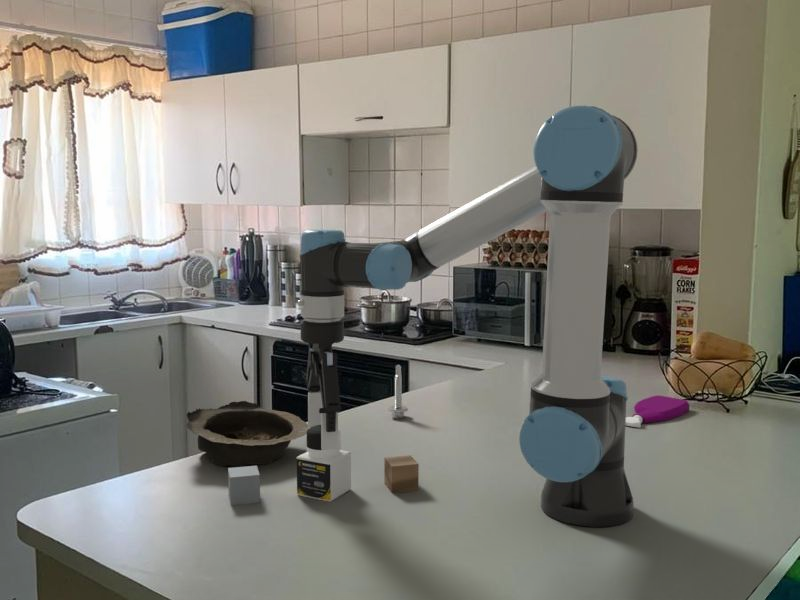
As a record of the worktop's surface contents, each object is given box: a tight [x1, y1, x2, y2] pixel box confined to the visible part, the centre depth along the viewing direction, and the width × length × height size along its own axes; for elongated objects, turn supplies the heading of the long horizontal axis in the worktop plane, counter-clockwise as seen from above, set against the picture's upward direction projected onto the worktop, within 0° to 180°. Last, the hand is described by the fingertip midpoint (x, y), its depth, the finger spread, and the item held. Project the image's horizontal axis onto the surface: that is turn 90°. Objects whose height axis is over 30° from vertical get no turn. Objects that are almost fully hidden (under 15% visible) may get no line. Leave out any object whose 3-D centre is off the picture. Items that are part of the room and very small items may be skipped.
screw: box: [387, 364, 409, 419], centre depth 189 cm, size 13×5×5 cm
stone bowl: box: [186, 400, 309, 468], centre depth 160 cm, size 25×25×9 cm
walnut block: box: [383, 455, 420, 494], centre depth 143 cm, size 5×5×5 cm
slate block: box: [227, 465, 261, 506], centre depth 137 cm, size 5×5×5 cm
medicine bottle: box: [296, 425, 352, 502], centre depth 139 cm, size 7×7×12 cm
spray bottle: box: [625, 395, 690, 428], centre depth 191 cm, size 3×11×24 cm
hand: (322, 437), depth 139 cm, fingers open, 13 cm apart
